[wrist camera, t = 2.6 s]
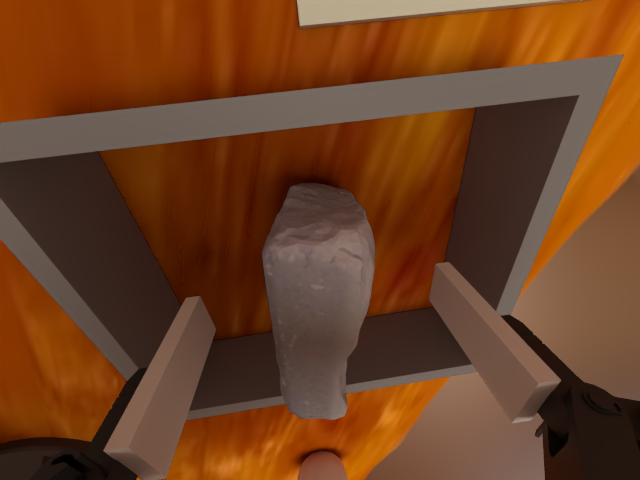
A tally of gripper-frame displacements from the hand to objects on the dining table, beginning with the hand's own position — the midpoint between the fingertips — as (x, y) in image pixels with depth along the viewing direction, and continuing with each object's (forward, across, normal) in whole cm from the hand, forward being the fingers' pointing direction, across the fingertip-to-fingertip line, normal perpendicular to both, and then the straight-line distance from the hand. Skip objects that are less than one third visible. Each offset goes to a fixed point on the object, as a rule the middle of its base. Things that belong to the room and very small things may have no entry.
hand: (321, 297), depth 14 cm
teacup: (+6, -4, -41) cm, 42 cm away
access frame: (+6, 0, 0) cm, 6 cm away
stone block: (+6, 0, 0) cm, 6 cm away
